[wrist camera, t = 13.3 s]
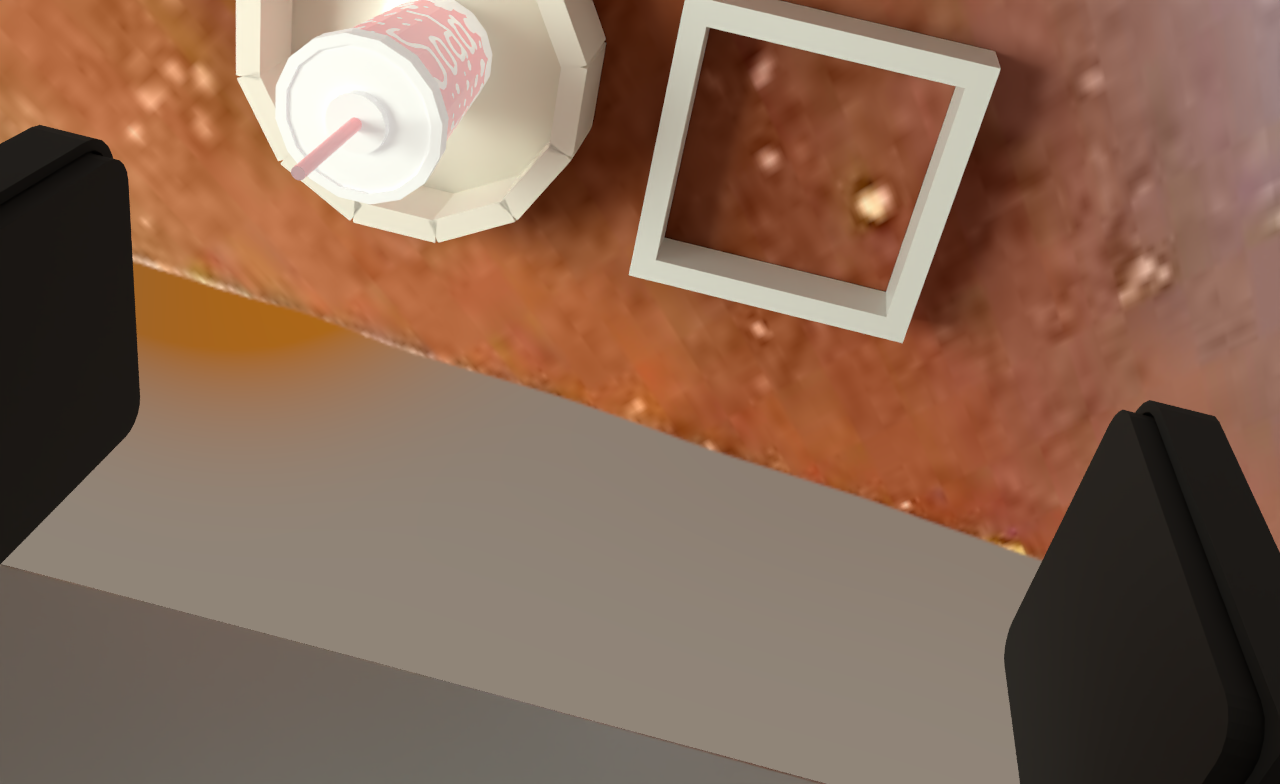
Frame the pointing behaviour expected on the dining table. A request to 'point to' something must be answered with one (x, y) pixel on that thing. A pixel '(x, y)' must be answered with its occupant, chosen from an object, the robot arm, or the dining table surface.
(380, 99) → the beverage cup
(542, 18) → the bowl
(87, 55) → the dining table surface
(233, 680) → the robot arm
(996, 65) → the open square frame
